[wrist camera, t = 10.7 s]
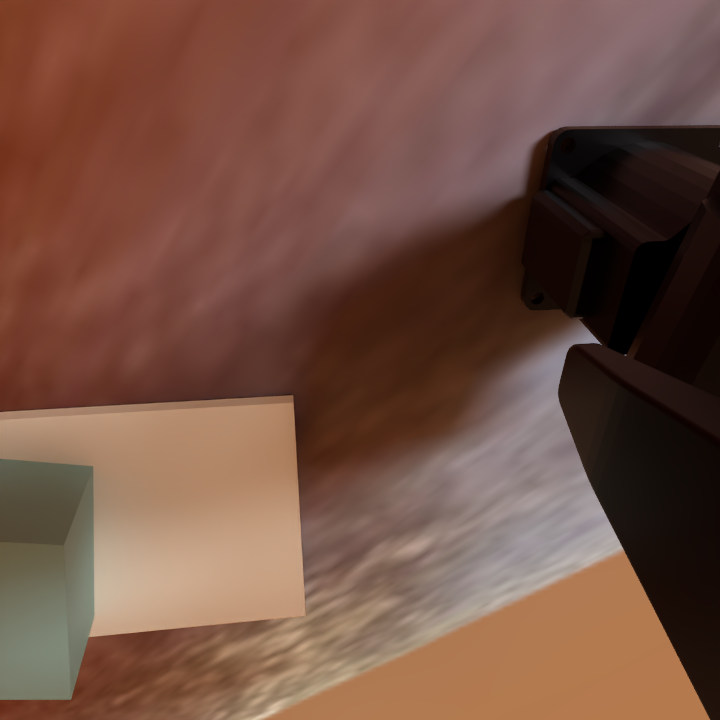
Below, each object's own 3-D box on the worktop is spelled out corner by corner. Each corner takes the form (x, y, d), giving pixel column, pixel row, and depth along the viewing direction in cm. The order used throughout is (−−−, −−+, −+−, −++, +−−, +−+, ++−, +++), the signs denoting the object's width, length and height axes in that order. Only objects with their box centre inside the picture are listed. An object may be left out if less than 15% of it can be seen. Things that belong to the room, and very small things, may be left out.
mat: (293, 395, 24) (293, 402, 23) (305, 607, 31) (305, 615, 31) (-255, 426, 22) (-266, 435, 21) (-100, 646, 29) (-105, 656, 29)
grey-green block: (94, 616, 29) (70, 699, 26) (-30, 613, 28) (-72, 699, 24) (93, 466, 24) (63, 545, 21) (-60, 453, 23) (-117, 536, 19)
